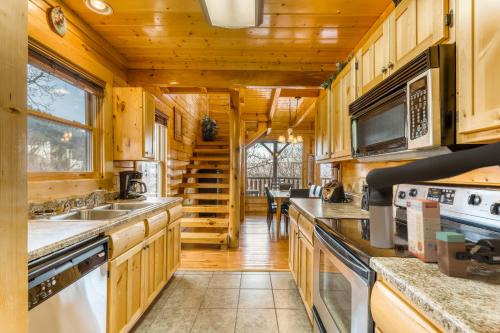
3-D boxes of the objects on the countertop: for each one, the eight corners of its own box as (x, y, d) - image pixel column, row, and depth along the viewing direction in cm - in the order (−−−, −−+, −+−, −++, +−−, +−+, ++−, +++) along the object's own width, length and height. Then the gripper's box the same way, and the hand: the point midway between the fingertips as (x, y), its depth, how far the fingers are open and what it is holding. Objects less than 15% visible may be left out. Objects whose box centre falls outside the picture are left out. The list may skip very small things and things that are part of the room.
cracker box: (444, 263, 88) (440, 201, 89) (424, 262, 89) (420, 201, 90) (425, 252, 102) (422, 198, 103) (408, 251, 103) (405, 198, 104)
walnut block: (438, 270, 81) (435, 231, 82) (454, 270, 81) (452, 231, 82) (449, 276, 76) (447, 235, 77) (467, 276, 76) (464, 235, 77)
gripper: (480, 233, 86) (429, 234, 86) (523, 244, 71) (461, 245, 72) (482, 257, 85) (430, 257, 86) (525, 272, 71) (463, 272, 72)
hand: (444, 251), depth 79 cm, fingers open, 8 cm apart
